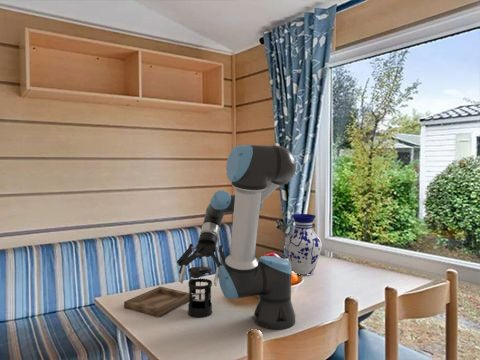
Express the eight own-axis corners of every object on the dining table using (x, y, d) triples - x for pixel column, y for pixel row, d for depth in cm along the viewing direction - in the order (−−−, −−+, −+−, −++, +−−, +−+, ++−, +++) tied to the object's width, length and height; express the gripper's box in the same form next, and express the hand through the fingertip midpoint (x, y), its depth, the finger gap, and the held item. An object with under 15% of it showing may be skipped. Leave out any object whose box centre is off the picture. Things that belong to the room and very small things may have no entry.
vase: (321, 279, 191) (322, 219, 189) (282, 276, 195) (283, 217, 193) (321, 268, 210) (322, 213, 208) (285, 266, 213) (286, 212, 212)
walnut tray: (193, 299, 162) (193, 293, 162) (159, 317, 144) (159, 310, 144) (159, 292, 171) (159, 286, 171) (124, 307, 153) (124, 301, 153)
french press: (218, 314, 148) (218, 254, 146) (197, 320, 142) (198, 258, 140) (200, 305, 157) (201, 248, 155) (180, 310, 151) (180, 252, 149)
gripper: (239, 242, 161) (231, 290, 147) (182, 239, 166) (169, 285, 152) (237, 232, 155) (228, 280, 142) (178, 229, 160) (164, 276, 147)
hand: (197, 283), depth 147 cm, fingers open, 13 cm apart
